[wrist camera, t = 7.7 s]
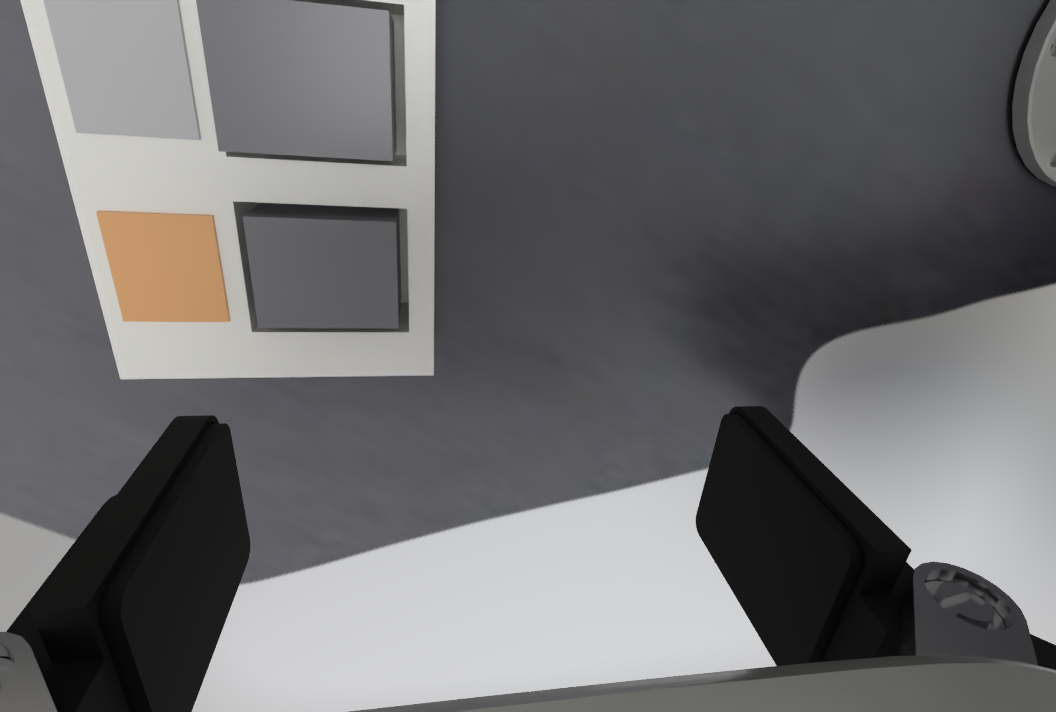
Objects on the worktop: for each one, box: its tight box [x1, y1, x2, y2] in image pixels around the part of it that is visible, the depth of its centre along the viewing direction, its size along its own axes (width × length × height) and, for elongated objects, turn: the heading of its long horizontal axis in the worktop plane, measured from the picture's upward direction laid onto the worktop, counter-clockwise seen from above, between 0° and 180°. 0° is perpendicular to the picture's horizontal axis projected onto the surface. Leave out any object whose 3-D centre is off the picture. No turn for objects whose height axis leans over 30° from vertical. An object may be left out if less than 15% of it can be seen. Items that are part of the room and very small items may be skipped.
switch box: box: [21, 0, 435, 379], centre depth 20 cm, size 12×22×5 cm, turn 176°
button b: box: [196, 0, 397, 161], centre depth 18 cm, size 5×4×4 cm
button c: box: [243, 203, 401, 328], centre depth 23 cm, size 5×4×4 cm
